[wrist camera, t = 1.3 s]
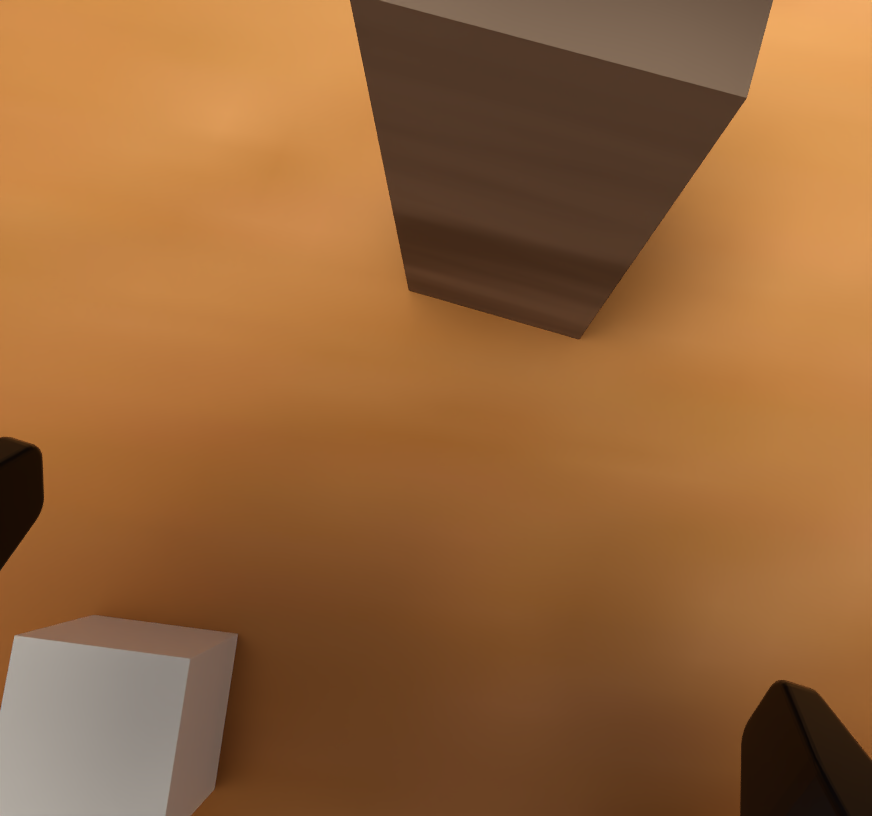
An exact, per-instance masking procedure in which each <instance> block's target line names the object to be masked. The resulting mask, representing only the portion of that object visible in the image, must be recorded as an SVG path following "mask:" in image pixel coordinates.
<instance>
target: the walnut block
mask: <svg viewBox="0 0 872 816" xmlns="http://www.w3.org/2000/svg"><path fill="white" fill-rule="evenodd" d="M350 2H351V7H352V12H353V17H354V22H355V27H356V32H357V37H358V42H359V47H360V52H361V57H362V62H363V66H364V71H365V76H366V81H367V86H368V91H369V96H370V101H371V106H372V111H373V116H374V121H375V126H376V131H377V136H378V141H379V145H380V150H381V155H382V160H383V165H384V170H385V175H386V180H387V185H388V190H389V195H390V200H391V205H392V210H393V215H394V220H395V224H396V229H397V234H398V239H399V244H400V249H401V254H402V259H403V264H404V269H405V274H406V279H407V284H408V289H409V290H410V291H413V292H417V293H420V294H423V295H427V296H430V297H434V298H437V299H441V300H444V301H448V302H451V303H455V304H458V305H462V306H465V307H469V308H472V309H475V310H479V311H482V312H486V313H489V314H493V315H496V316H500V317H503V318H507V319H510V320H514V321H517V322H520V323H524V324H527V325H531V326H534V327H538V328H541V329H545V330H548V331H552V332H555V333H559V334H562V335H566V336H569V337H572V338H576V339H580V337H581V336H582V334H583V333H584V331H585V330H586V329H587V327H588V326H589V324H590V323H591V321H592V320H593V319H594V317H595V316H596V314H597V313H598V311H599V310H600V308H601V307H602V306H603V304H604V303H605V301H606V300H607V298H608V297H609V295H610V294H611V293H612V291H613V290H614V288H615V287H616V285H617V284H618V283H619V281H620V280H621V278H622V277H623V275H624V274H625V272H626V271H627V270H628V268H629V267H630V265H631V264H632V262H633V261H634V259H635V258H636V257H637V255H638V254H639V252H640V251H641V249H642V248H643V247H644V245H645V244H646V242H647V241H648V239H649V238H650V236H651V235H652V234H653V232H654V231H655V229H656V228H657V226H658V225H659V224H660V222H661V221H662V219H663V218H664V216H665V215H666V213H667V212H668V211H669V209H670V208H671V206H672V205H673V203H674V202H675V200H676V199H677V198H678V196H679V195H680V193H681V192H682V190H683V189H684V188H685V186H686V185H687V183H688V182H689V180H690V179H691V177H692V176H693V175H694V173H695V172H696V170H697V169H698V167H699V166H700V164H701V163H702V162H703V160H704V159H705V157H706V156H707V154H708V153H709V152H710V150H711V149H712V147H713V146H714V144H715V143H716V141H717V140H718V139H719V137H720V136H721V134H722V133H723V131H724V130H725V128H726V127H727V126H728V124H729V123H730V121H731V120H732V118H733V117H734V116H735V114H736V113H737V111H738V110H739V108H740V107H741V105H742V104H743V103H744V101H745V100H746V98H747V95H748V91H749V88H750V84H751V80H752V76H753V73H754V69H755V65H756V62H757V58H758V54H759V50H760V47H761V43H762V39H763V36H764V32H765V28H766V24H767V21H768V17H769V13H770V10H771V6H772V2H773V0H350Z"/></svg>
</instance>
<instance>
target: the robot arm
mask: <svg viewBox="0 0 872 816" xmlns="http://www.w3.org/2000/svg"><path fill="white" fill-rule="evenodd" d="M43 502H44V488H43V461H42V453H41V451H40V449H39V448H38V447H37V446H35V445H34V444H31V443H27V442H24V441H21V440H18V439H15V438H11V437H1V438H0V570H1V569H2V567H3V566H4V565H5V563H6V562H7V560H8V559H9V558H10V556H11V555H12V553H13V552H14V551H15V549H16V548H17V546H18V545H19V544H20V542H21V541H22V539H23V538H24V537H25V535H26V534H27V532H28V531H29V530H30V528H31V527H32V525H33V524H34V523H35V521H36V520H37V518H38V516H39V514H40V512H41V509H42V507H43ZM740 816H872V760H871V759H870V757H869V756H868V755H867V754H866V752H865V751H864V750H863V749H862V747H861V746H860V745H859V744H858V742H857V741H856V740H855V739H854V737H853V736H852V735H851V734H850V732H849V731H848V730H847V729H846V727H845V726H844V725H843V723H842V722H841V721H840V720H839V718H838V717H837V716H836V715H835V713H834V712H833V711H832V710H831V708H830V707H829V706H828V705H827V703H826V702H825V701H824V700H823V698H822V697H821V696H820V695H819V694H818V693H817V692H816V691H815V690H813V689H811V688H808V687H805V686H802V685H799V684H795V683H792V682H789V681H786V680H778V681H776V682H775V683H773V684H772V686H771V687H770V688H769V690H768V691H767V693H766V694H765V696H764V697H763V699H762V701H761V702H760V704H759V705H758V707H757V708H756V710H755V711H754V713H753V714H752V716H751V717H750V719H749V721H748V722H747V724H746V726H745V729H744V732H743V736H742V743H741V800H740Z"/></svg>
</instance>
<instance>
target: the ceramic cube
mask: <svg viewBox="0 0 872 816" xmlns="http://www.w3.org/2000/svg"><path fill="white" fill-rule="evenodd" d="M237 638H238V634H236V633H228V632H221V631H213V630H205V629H198V628H190V627H182V626H175V625H167V624H160V623H152V622H144V621H137V620H129V619H121V618H114V617H106V616H98V615H91V616H87V617H83V618H79V619H76V620H72V621H68V622H64V623H60V624H56V625H53V626H49V627H45V628H41V629H37V630H33V631H30V632H26V633H22V634H18V635H15V636H14V642H13V647H12V652H11V657H10V663H9V668H8V673H7V679H6V684H5V689H4V694H3V700H2V705H1V710H0V816H191V815H192V814H193V813H194V812H195V810H196V809H197V808H198V807H199V806H200V805H201V804H202V803H203V802H204V800H205V799H206V798H207V797H208V796H209V795H210V794H211V793H212V791H213V790H214V789H215V783H216V777H217V770H218V763H219V757H220V750H221V744H222V737H223V730H224V724H225V717H226V711H227V704H228V697H229V691H230V684H231V678H232V671H233V664H234V658H235V651H236V645H237Z"/></svg>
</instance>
